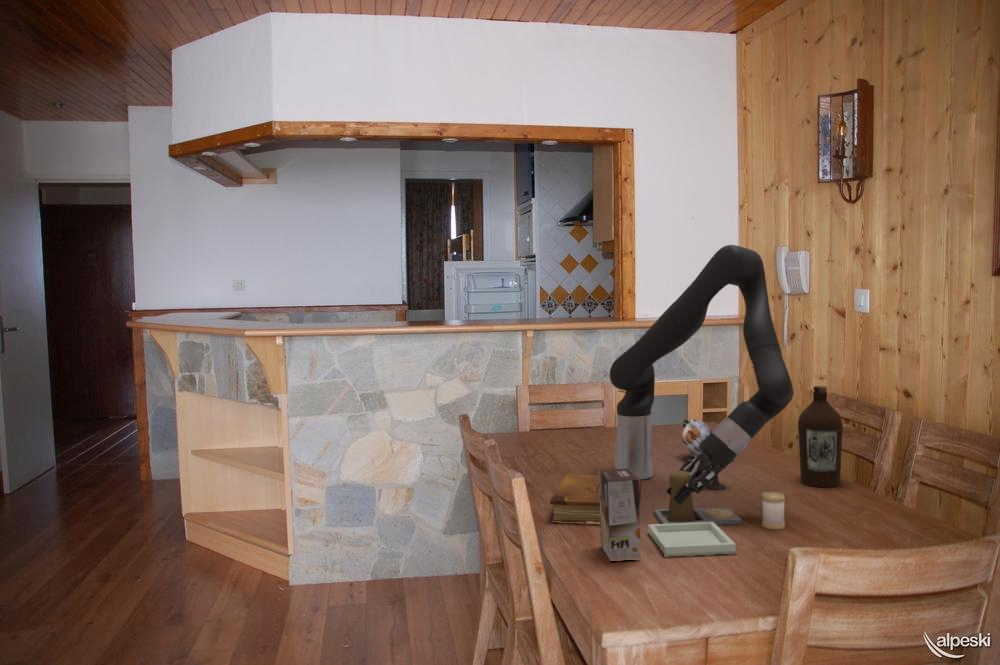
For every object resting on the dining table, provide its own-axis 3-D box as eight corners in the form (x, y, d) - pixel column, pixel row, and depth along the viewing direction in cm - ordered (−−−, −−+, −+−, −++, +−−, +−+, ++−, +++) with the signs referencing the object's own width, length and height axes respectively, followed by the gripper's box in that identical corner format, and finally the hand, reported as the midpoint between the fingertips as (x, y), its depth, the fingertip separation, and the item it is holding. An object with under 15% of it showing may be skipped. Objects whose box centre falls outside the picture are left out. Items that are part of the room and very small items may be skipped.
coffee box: (641, 560, 150) (640, 479, 149) (609, 562, 149) (607, 481, 148) (629, 544, 159) (628, 467, 158) (599, 546, 158) (597, 469, 157)
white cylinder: (758, 526, 167) (757, 494, 167) (768, 521, 170) (768, 490, 170) (778, 531, 164) (777, 498, 163) (788, 526, 167) (788, 494, 167)
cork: (695, 524, 170) (695, 475, 169) (667, 523, 171) (666, 474, 170) (694, 516, 176) (693, 468, 175) (667, 515, 177) (666, 468, 176)
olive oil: (796, 476, 206) (796, 383, 204) (840, 478, 203) (840, 384, 201) (799, 487, 196) (799, 389, 194) (845, 489, 193) (845, 390, 191)
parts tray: (648, 533, 165) (648, 524, 165) (713, 530, 166) (713, 521, 165) (665, 557, 151) (664, 547, 151) (735, 554, 152) (735, 544, 151)
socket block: (665, 528, 168) (664, 522, 168) (653, 514, 178) (653, 509, 178) (742, 524, 169) (741, 519, 169) (726, 510, 179) (726, 505, 179)
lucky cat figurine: (736, 464, 221) (717, 424, 217) (697, 478, 224) (677, 440, 221) (730, 438, 235) (711, 401, 231) (692, 452, 238) (673, 415, 235)
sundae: (731, 484, 201) (730, 427, 200) (727, 491, 195) (726, 432, 194) (705, 482, 204) (704, 425, 203) (700, 488, 198) (699, 430, 196)
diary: (634, 529, 170) (634, 504, 169) (550, 525, 174) (550, 500, 174) (641, 498, 192) (640, 475, 192) (566, 495, 197) (566, 473, 196)
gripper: (703, 425, 179) (653, 478, 180) (723, 438, 165) (669, 496, 165) (726, 447, 180) (675, 500, 180) (748, 461, 166) (694, 519, 166)
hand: (673, 497), depth 173 cm, fingers closed on cork, 5 cm apart
